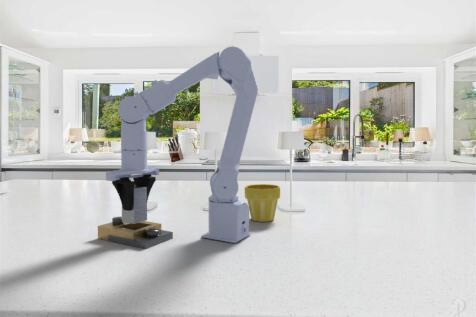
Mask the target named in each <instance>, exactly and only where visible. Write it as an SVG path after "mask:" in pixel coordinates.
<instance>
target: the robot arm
mask: <svg viewBox="0 0 476 317" xmlns="http://www.w3.org/2000/svg"><path fill="white" fill-rule="evenodd" d="M219 77H220V78H221V79H222V80H223V81H224V82H226V83H227V84H228V85H229V86H230V87H231V89H232V91H233V92H234V94H235V95H236V97H235V101H234V104H233V108H232V111H231V116H230V120H229V124H228V127H227V132H226V136H225V139H224V143H223V146H222V147H223V148H222V150H221V156H220V158H219V162H218V164H217V168H216V170H215V171H214V173H213V174H212V175H211V176H210V179H209V184H210V185H209V186H210V190H211V195H210V196H209V197H208V231H207V232H205V233H203V234H201V235H200V236H201V238H206V239H211V240H216V241H221V242H228V243H232V244H236V243H238V242H240V241H241V240H243V239H245V238H247V237H249V236H250V235H251V232H250V210H249V205H248V202H245V201H241V200H239V196H238V192H239V182H238V176H239V171H240V161H241V157H242V153H243V149H244V146H245V142H246V138H247V134H248V130H249V128H250V127H249V126H250V123H251V119H252V115H253V111H254V109H255V108H254V107H255V104H256V99H257V96H258V90H259V89H258V85H257V81H256V78H255V75H254V71H253V69H252V62H251V59H250V58H249V57H248V56H247V54H246V53H245V52H244V51H243V50H242V48H240V47H238V46H228V47H225V48H224V49H223V50H221V52H220V51H217V52H215V53H213V54H212V55H210V56H208V57H206V58H205V59H203V60H202V61H200V62H198V63H197V64H195V65H194V66H192V67H190V68H189V69H187V70H186V71H184V72H182V73H180V74H179V75H178V76H176V77H174V78H173V79H171V80H164V79H160V80H159V81H158V80H157V79H155V80H153V81H151V85H150V86H149V87H147V88H145V89H143V90H142V91H140V92H138V91H136V92H134V93H133V96H132V95H130V96H129V95H127V96H125V97H124V98H123V99H122V100H120V102H119V104H118V107H117V111H118V112H117V113H118V115H119V117H120V118H121V120H120V121H121V122H120V126H121V127H120V129H121V130H120V150H121V152H120V153H121V154H120V155H121V156H120V157H121V158H120V160H121V162H120V163H121V168H119V169H118V170H116V169H114V170H110V171H109V170H108V171H105V181H107V182H111V184H112V185H113V187H114V189H115V190H116V192H117V194H118V197H119V200H120V202H121V208H122V207H123V210H127V211H131V210H132V204H133V191H134V187H135V186H144V187H147V202H148V200H149V196H150V193H151V190H152V188H153V185H154V184H155V183H156V179H157V178H156V176H159V175H160V167H158V166H148V146H147V145H148V144H147V143H148V142H147V140H148V135H147V133H148V132H147V125H146V124H147V123H146V122H147V119H148V117H149V115H151V116H152V115H155V114H156V113H158V112H160V111H162V110H164V108H166V107H167V106H168V107H169V106H170V105H171V104H173V103H175V102H176V99H177V95H178V94H179V93H182V92H183V91H185V90H187V89H188V88H191V87H193V86H195V85H196V84H198V83H200V82H201V81H203V80H205V79H206V80H207V79H209V80H210V79H211V80H212V79H213V80H218V78H219ZM131 179H132V180H131Z"/></svg>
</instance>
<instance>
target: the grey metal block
mask: <svg viewBox="0 0 476 317" xmlns="http://www.w3.org/2000/svg"><path fill="white" fill-rule="evenodd" d="M121 217H122V222H127V223H132V224H136V223H139V222H143V221H148V201H147V187H144V186H135V187H134V191H133V204H132V210H131V211H127V210H123V207H122V206H121Z"/></svg>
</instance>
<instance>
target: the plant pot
mask: <svg viewBox="0 0 476 317" xmlns="http://www.w3.org/2000/svg"><path fill="white" fill-rule="evenodd" d="M244 197H245V199H246V200H247V204H248V207H249V216H250V219H251V220H252V221H254V222H257V223H258V222H259V223H261V222H263V223H264V222H265V223H266V222H267V223H269V222H272V221H274V220H275V216H276V210H277V205H278V200H279V199H281V186H279V185H277V184H268V183H267V184H266V183H262V184H261V183H260V184H259V183H258V184H257V183H256V184H248V185H245V186H244Z"/></svg>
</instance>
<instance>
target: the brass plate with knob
mask: <svg viewBox="0 0 476 317" xmlns="http://www.w3.org/2000/svg"><path fill="white" fill-rule="evenodd" d="M111 221H112V222H111ZM111 221H110V222H108V223H104V224H101V225H98V226H97V239H98V240H102V239H103V241H108V242H111V241H112V243H116V242H117V244H121V245H125V246H130V247H135V248H138V249H142V250H145V249H149V248H151V247H153V246H156V245H159V244H162V243H165V242H167V241H169V240H171V239H173V238H174V237H173V236H174V235H173V234H174V232H173V231H170V230H163V229H162V223H159V222H153V221H148V220H146V221H143V222H139V223H136V224H132V223H127V222H122V216H115V217H112V220H111Z"/></svg>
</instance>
